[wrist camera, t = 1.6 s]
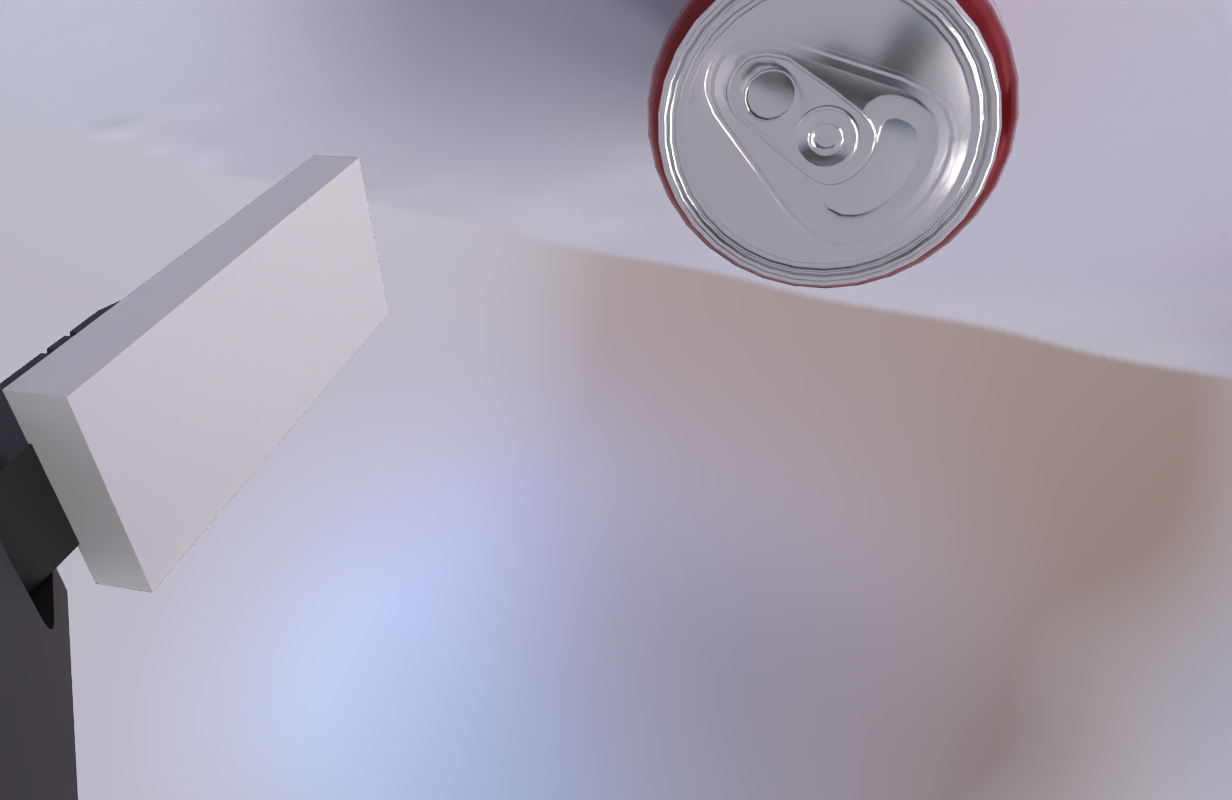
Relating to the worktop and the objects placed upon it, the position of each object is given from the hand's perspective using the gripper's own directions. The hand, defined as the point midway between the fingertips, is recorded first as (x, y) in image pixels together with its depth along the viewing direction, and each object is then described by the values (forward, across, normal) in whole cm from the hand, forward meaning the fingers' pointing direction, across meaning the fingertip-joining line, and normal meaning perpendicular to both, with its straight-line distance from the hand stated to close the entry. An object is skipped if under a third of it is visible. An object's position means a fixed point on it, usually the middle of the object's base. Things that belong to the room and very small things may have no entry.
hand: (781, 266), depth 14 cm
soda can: (+18, 0, 0) cm, 18 cm away
